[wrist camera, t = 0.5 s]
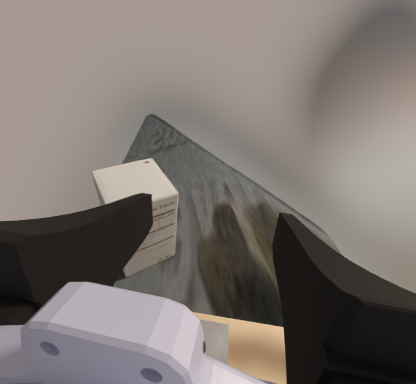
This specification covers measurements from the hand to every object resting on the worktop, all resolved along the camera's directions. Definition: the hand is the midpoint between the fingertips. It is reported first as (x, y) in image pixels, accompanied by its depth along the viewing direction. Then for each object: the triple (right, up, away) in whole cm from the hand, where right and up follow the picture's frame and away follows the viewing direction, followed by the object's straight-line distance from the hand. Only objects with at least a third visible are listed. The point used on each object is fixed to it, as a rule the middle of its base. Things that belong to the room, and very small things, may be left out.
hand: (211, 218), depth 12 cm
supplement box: (-10, -7, +20) cm, 23 cm away
